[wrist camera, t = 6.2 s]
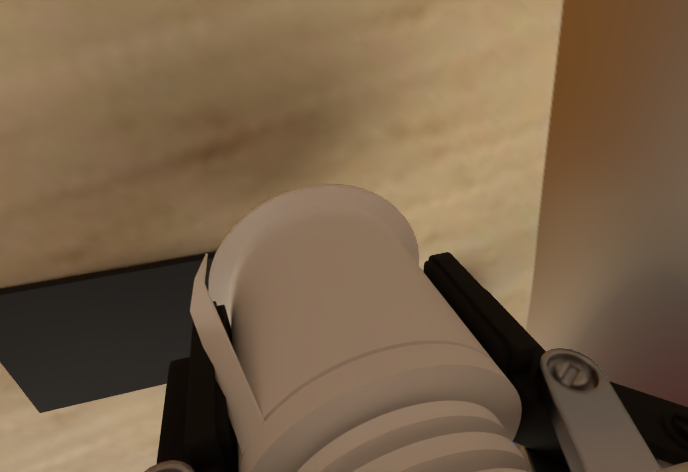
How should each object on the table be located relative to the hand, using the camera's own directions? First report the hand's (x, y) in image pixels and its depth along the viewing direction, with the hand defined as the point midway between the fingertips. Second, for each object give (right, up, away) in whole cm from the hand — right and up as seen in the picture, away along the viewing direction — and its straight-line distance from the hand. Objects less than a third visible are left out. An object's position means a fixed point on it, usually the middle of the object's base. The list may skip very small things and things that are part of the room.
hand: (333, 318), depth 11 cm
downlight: (-1, +1, +2) cm, 2 cm away
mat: (-10, -3, +15) cm, 18 cm away
